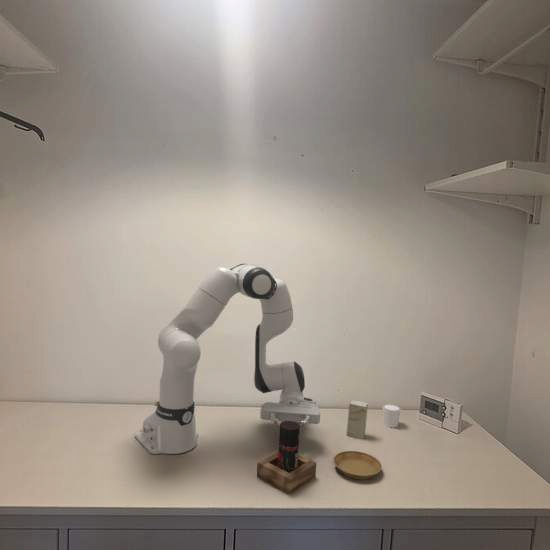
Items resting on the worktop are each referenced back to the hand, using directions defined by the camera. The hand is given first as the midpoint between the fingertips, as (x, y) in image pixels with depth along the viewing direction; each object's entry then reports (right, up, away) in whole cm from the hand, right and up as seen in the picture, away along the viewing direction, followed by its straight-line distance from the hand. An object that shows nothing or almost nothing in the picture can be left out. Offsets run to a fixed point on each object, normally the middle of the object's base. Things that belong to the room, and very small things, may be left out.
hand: (289, 423), depth 139 cm
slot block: (-1, -12, -11) cm, 16 cm away
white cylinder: (+40, -11, +30) cm, 51 cm away
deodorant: (-1, -11, -12) cm, 16 cm away
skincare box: (+25, -11, +19) cm, 33 cm away
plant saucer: (+21, -13, -5) cm, 25 cm away
